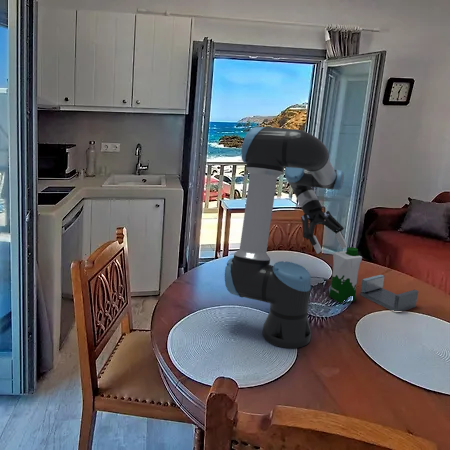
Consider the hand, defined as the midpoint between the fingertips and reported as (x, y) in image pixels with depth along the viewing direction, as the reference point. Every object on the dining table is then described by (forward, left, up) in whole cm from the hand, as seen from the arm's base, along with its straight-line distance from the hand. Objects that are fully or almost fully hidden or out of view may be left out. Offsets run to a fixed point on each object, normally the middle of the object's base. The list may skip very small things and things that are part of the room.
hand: (332, 249), depth 170 cm
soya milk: (-8, -2, -17) cm, 19 cm away
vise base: (-12, -19, -17) cm, 28 cm away
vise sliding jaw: (-5, -17, -15) cm, 23 cm away
